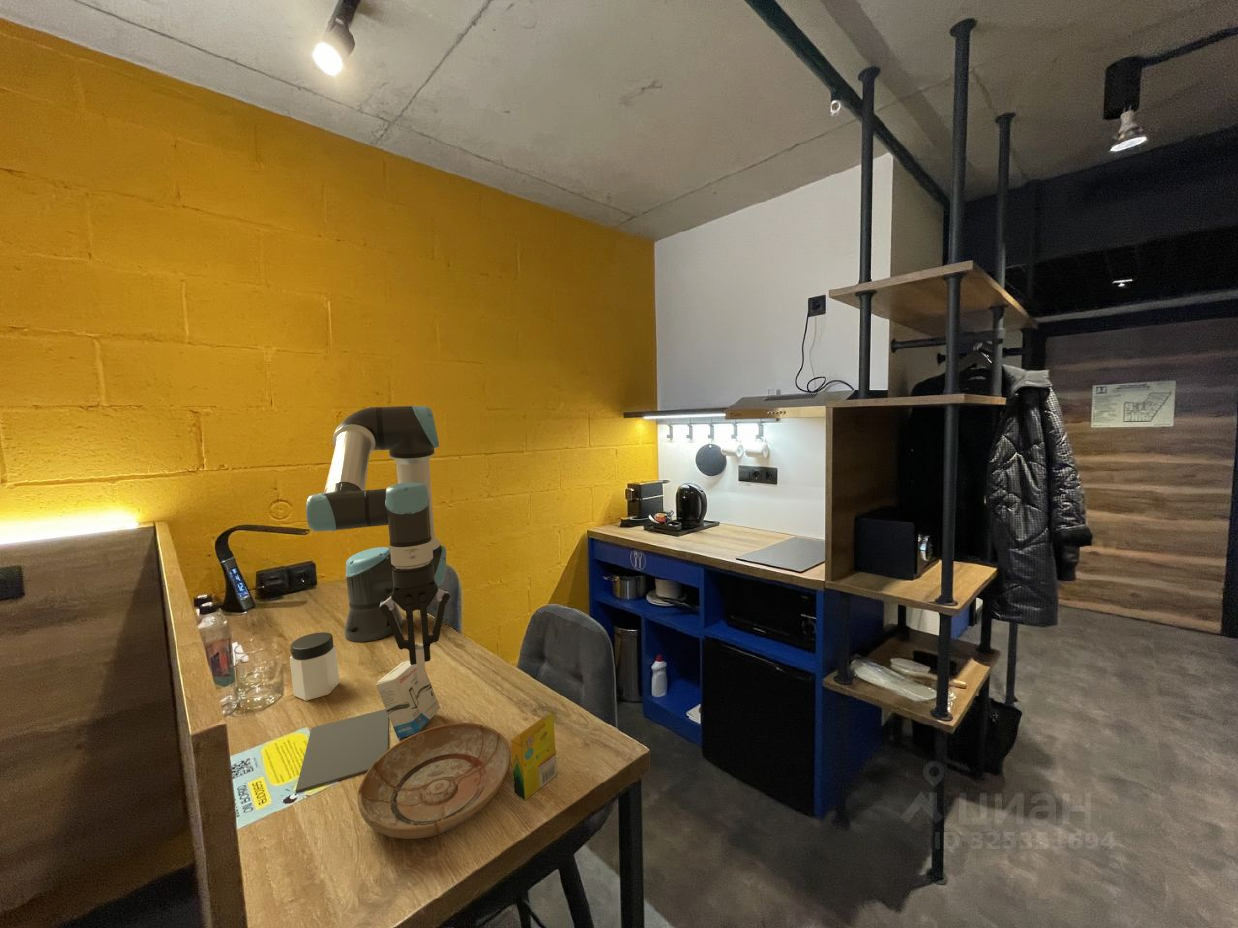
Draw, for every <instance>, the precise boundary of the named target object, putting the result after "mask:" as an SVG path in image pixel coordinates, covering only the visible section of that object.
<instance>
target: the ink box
mask: <svg viewBox="0 0 1238 928" xmlns="http://www.w3.org/2000/svg"><path fill="white" fill-rule="evenodd" d="M425 673H426V680H423V681H419V682H418V677H417V665H416V664H414V665H411V664H410V659H409V660H405V661H403V662H400V664H398V665H397V666H396V667H394V668H393V669H392V670H391V671H389V672H388V673H387V674H385V675H384V676H383V677H382V678H380V679H379V680H378V681H377V682H376V684H375V686H376V689H377V692H378V694H379V696H380V699H381V701H382V704H383V707H384V709H386V711H387V714H388V720H389V721H390V723H391V725H392V728H393V730H394V732H395V735H396V738H397V739H401V738H402V739H403V738H406V737H410V736H412V735H414V734H416V733H419V732H421V731H422V729H423V728H424V727H425V726H426V725H427V724H428V722H430V720H432V718H433V717H434V716H435V715H436V714H437V712H439V711H440V710H441V706H440V703H439V701H438V699H437V697H436V694H435V691H434V688H433V686H432V684H431V683H432V682H431V681H430V677H429V676H428V673H427V670H426V669H425Z"/></svg>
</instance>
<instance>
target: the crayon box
mask: <svg viewBox="0 0 1238 928" xmlns="http://www.w3.org/2000/svg"><path fill="white" fill-rule="evenodd" d="M510 745H511V746H510V747H511V748H510V749H511V759H512V760H511V761H512V773H513V775H512V776H513V789H514V794H516V795H517V797H519V798H521V799H522V800H523V801H524V802H526V801H528V799H529V798H530V797H532V796H533V795H535V793H536V792H538V791H539V790H541V789H542V788H543V787H544V786H546V784H548V783H549V782H550V781H551V780H552V779H554V777H556V776H557V775H558V769H557V754H556V753H557V752H556V735H555V723H554V713H553V712H552V713H550V714H549V715H547V716H546V717H544V716H543V717H541V718H540V719H538V720H537V721H536V722H534V723H533V724H531V725H530V726H528V727H527V728H526V729H525V730H523V731H521V732H520V733H519V734H517V735H516V736H514V737H513V738H512V739H510Z"/></svg>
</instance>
